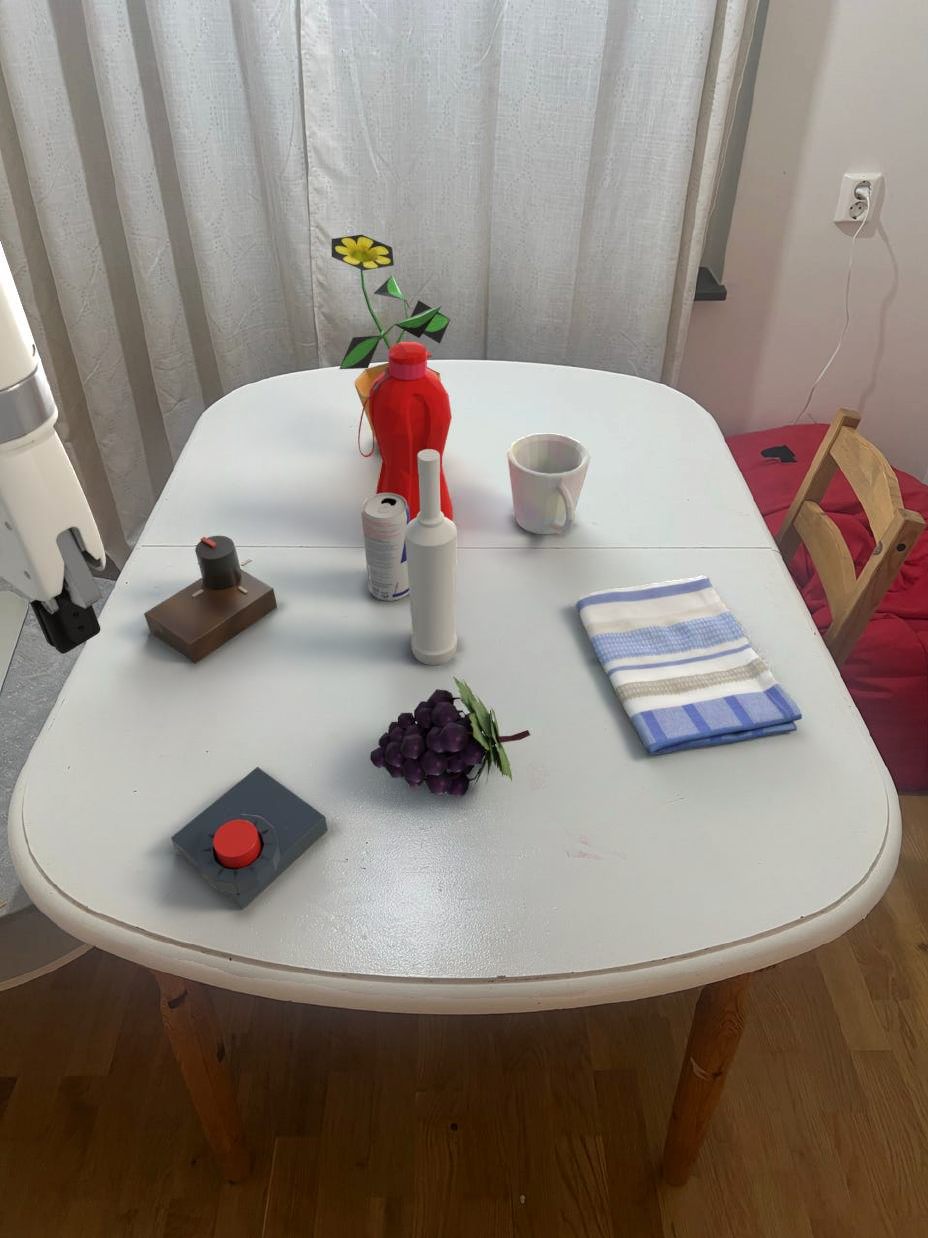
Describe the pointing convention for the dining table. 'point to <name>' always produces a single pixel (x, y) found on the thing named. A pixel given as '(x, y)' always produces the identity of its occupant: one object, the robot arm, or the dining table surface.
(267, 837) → the button box
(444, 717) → the fruit
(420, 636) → the bottle
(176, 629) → the console
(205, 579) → the dial
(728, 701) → the dish towel
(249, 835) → the plunger
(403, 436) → the water bottle
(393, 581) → the energy drink
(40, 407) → the robot arm
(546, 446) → the mug
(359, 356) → the potted plant
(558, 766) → the dining table surface
